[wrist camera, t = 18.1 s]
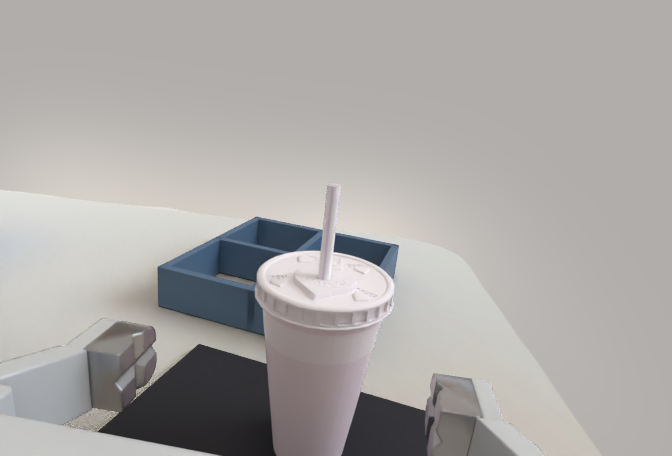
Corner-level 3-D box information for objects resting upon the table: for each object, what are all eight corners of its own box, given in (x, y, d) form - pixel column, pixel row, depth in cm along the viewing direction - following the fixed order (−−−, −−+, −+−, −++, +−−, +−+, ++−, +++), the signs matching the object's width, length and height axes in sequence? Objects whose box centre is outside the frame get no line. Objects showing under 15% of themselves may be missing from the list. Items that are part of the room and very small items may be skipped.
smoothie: (225, 478, 20) (234, 186, 16) (270, 390, 26) (287, 162, 22) (359, 514, 19) (409, 212, 15) (375, 413, 25) (413, 179, 21)
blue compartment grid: (158, 306, 35) (157, 266, 34) (254, 244, 50) (256, 216, 49) (353, 360, 31) (360, 317, 29) (394, 275, 46) (399, 245, 45)
